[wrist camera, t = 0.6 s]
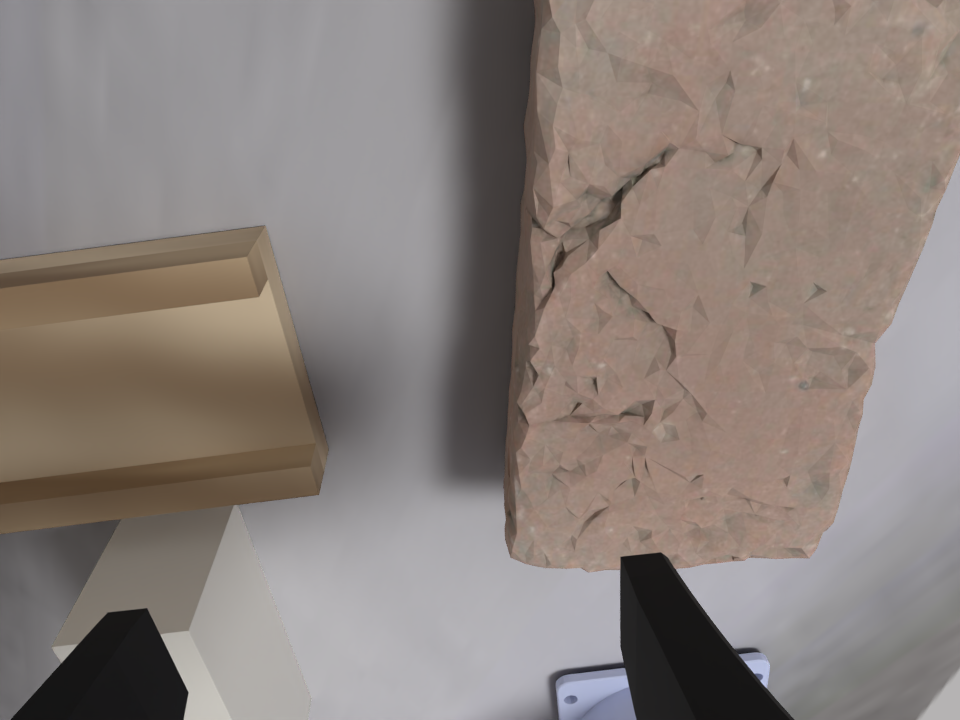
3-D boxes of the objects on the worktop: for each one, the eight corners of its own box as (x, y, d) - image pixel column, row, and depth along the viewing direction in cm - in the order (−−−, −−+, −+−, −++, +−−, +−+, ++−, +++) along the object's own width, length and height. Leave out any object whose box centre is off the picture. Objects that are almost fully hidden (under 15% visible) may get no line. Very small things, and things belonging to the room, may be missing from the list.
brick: (529, -199, 14) (566, -254, 10) (943, -180, 14) (1138, -223, 10) (494, 465, 22) (506, 582, 18) (755, 464, 23) (822, 578, 19)
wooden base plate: (328, 449, 21) (319, 494, 19) (-36, 494, 21) (-77, 543, 20) (265, 225, 18) (246, 256, 16) (-171, 282, 18) (-236, 319, 16)
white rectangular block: (312, 694, 27) (288, 835, 23) (221, 705, 27) (181, 848, 23) (236, 496, 22) (188, 630, 18) (125, 510, 22) (51, 647, 18)
